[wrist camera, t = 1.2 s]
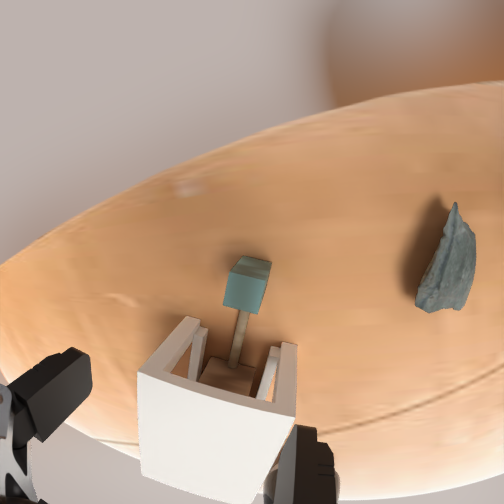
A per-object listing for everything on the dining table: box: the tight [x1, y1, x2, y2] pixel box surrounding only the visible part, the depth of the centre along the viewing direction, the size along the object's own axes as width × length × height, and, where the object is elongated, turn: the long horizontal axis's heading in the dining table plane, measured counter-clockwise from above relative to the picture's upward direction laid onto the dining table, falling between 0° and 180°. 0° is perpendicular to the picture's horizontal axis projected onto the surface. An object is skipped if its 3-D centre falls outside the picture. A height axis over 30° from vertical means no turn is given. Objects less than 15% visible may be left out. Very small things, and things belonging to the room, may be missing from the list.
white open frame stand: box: [137, 316, 297, 504], centre depth 26 cm, size 12×16×11 cm
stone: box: [415, 202, 476, 313], centre depth 23 cm, size 11×4×10 cm
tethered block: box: [198, 256, 272, 397], centre depth 27 cm, size 5×17×6 cm, turn 168°
